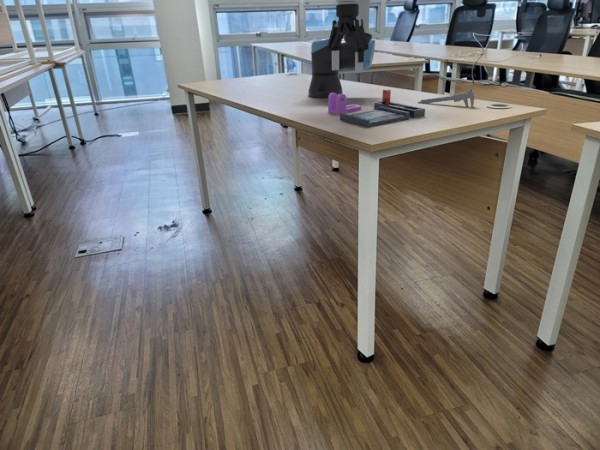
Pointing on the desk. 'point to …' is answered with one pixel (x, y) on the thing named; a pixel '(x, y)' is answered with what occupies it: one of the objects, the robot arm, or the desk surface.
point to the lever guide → (413, 110)
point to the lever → (387, 97)
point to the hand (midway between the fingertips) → (346, 71)
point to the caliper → (453, 98)
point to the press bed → (375, 117)
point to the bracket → (340, 104)
